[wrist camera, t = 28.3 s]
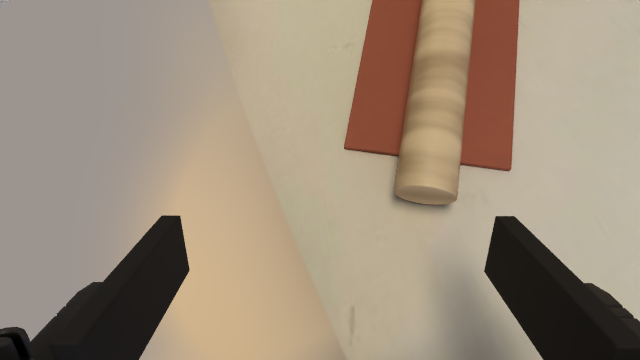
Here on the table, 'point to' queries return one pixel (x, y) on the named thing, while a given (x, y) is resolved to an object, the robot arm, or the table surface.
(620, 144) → the table surface
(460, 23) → the wooden dowel rod
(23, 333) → the robot arm
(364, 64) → the mat
